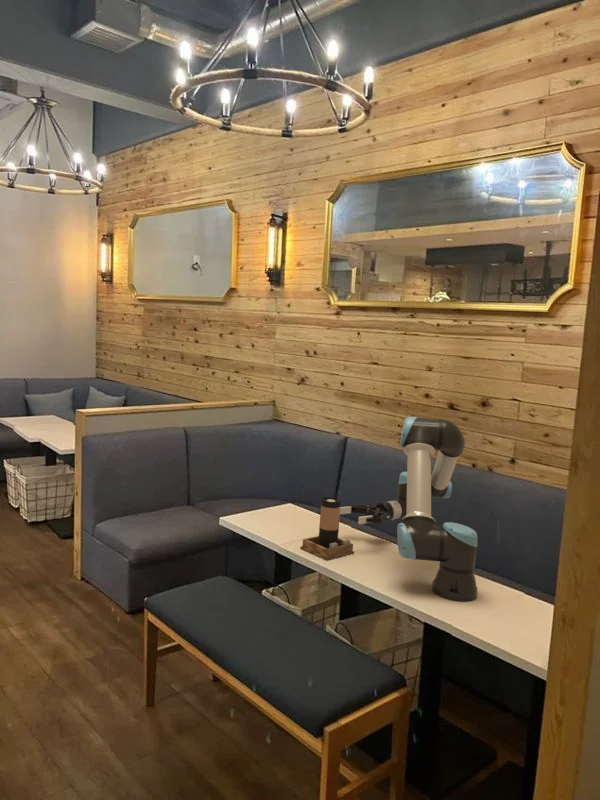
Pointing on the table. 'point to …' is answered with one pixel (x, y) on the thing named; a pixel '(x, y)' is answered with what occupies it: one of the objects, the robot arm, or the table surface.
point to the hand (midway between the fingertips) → (348, 515)
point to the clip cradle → (333, 552)
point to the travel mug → (329, 521)
